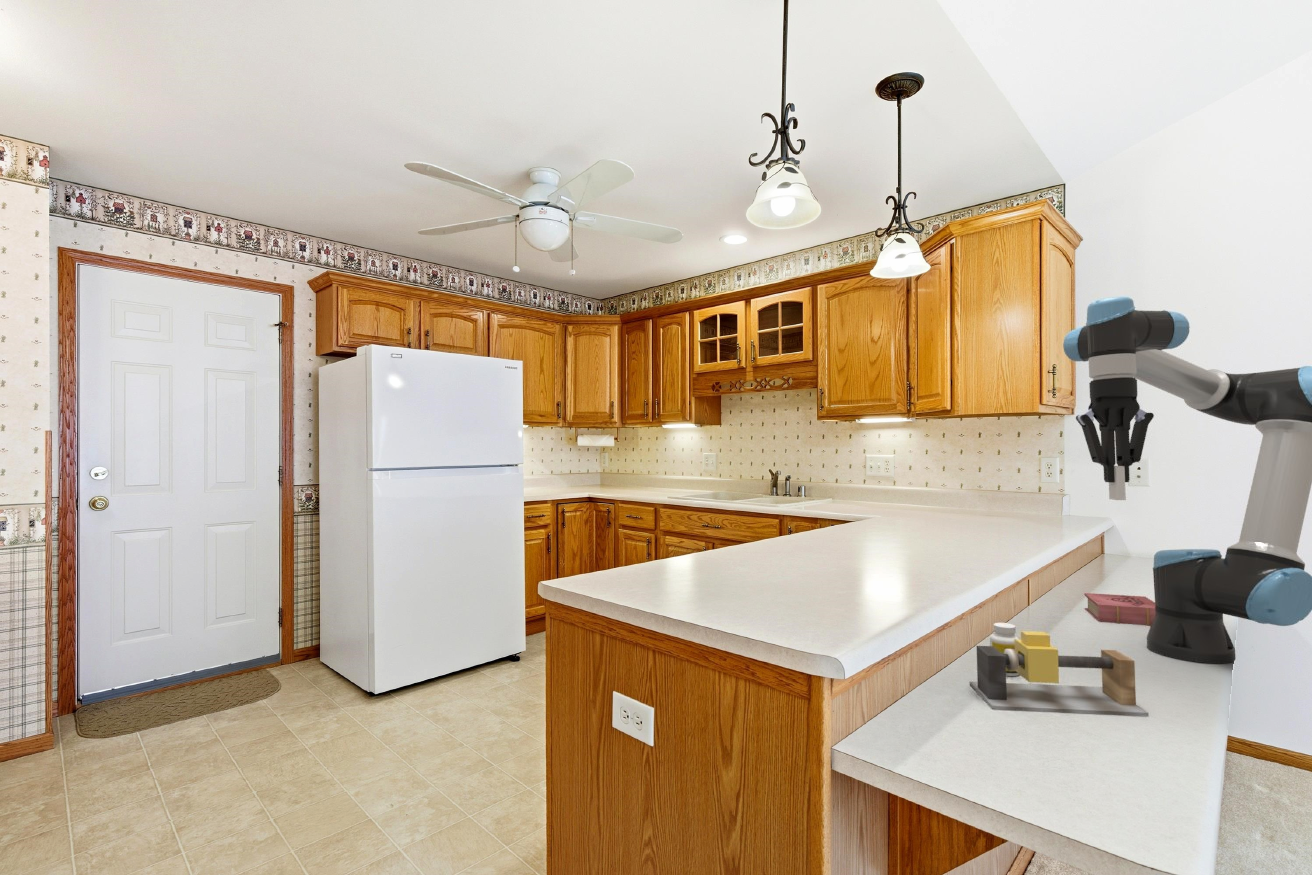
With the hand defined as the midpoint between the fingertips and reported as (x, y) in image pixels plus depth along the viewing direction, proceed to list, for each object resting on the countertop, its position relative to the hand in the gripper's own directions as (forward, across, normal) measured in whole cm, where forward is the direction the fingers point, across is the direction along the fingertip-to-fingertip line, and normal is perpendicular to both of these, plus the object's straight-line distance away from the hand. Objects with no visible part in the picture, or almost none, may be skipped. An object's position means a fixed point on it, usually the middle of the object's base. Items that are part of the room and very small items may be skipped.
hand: (1117, 499), depth 122 cm
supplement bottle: (+36, +19, -6) cm, 42 cm away
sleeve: (+32, +19, +8) cm, 38 cm away
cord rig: (+36, +16, +8) cm, 40 cm away
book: (+37, -29, -55) cm, 72 cm away
